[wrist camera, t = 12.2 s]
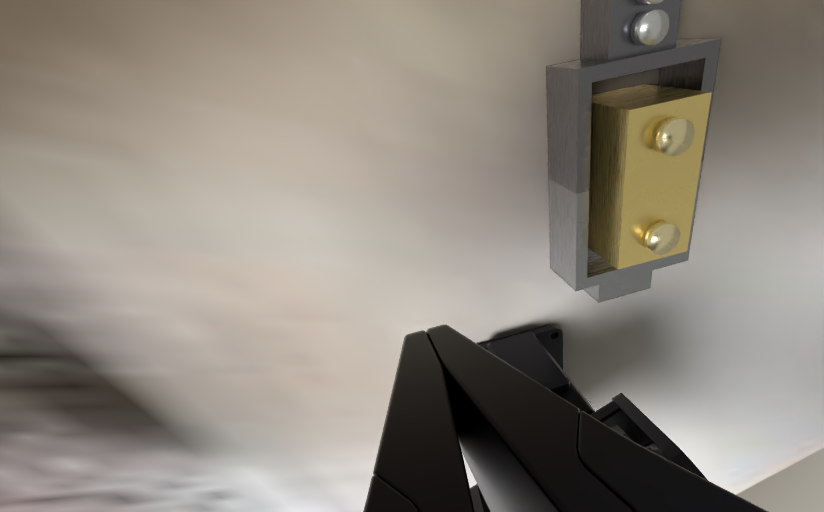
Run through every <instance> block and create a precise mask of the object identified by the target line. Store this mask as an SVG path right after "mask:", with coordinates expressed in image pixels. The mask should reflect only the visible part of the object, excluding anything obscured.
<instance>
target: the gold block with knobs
mask: <svg viewBox="0 0 824 512" xmlns="http://www.w3.org/2000/svg"><path fill="white" fill-rule="evenodd" d="M711 94H712V92H707V91H698V90H690V89H681V88H673V87H664V86H656V85H647V84H641V85H637V86H632V87H627V88H623V89H618V90H613V91H609V92H604V93H599V94H595V95H592V102H591V142H590V182H589V221H588V248H589V249H590V250H592V251H593V252H595V253H596V254H597V255H599V256H600V257H601V258H603V259H604V260H606V261H607V262H608V263H610V264H611V265H612V266H614V267H615V268H617V269H622V268H626V267H630V266H633V265H637V264H641V263H645V262H648V261H652V260H656V259H660V258H663V257H667V256H671V255H675V254H679V253H682V252H686V251H687V249H688V243H689V236H690V230H691V223H692V217H693V210H694V204H695V197H696V191H697V184H698V178H699V171H700V165H701V158H702V152H703V145H704V139H705V132H706V126H707V120H708V113H709V107H710V100H711Z"/></svg>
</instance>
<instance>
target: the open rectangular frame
mask: <svg viewBox="0 0 824 512" xmlns="http://www.w3.org/2000/svg"><path fill="white" fill-rule="evenodd" d="M680 3H681V0H581V42H580V59H579V60H574V61H569V62H564V63H560V64H555V65H550V66H546V76H547V124H548V172H549V220H550V268H551V269H552V270H553V271H554V272H555V273H556V274H557V275H558V276H559V277H561V278H562V279H563V280H564V281H565V282H566V283H567V284H568V285H569V286H570V287H571V288H573V289H574V290H575V291H578V290H582V289H583V290H585V291H586V292H587V293H588V294H589V295H590V296H591V297H593V298H594V299H595V300H596V301H597V302H598V303H599V302H602V301H606V300H610V299H613V298H617V297H620V296H624V295H627V294H631V293H635V292H638V291H642V290H645V289H649V288H650V285H651V275H652V270H655V269H658V268H662V267H666V266H669V265H673V264H676V263H680V262H684V261H687V260H688V257H689V250H690V244H691V237H692V230H693V224H694V217H695V210H696V204H697V197H698V190H699V184H700V177H701V170H702V164H703V157H704V150H705V144H706V137H707V130H708V124H709V117H710V110H711V104H712V97H713V90H714V84H715V77H716V70H717V64H718V57H719V50H720V44H721V39H677V31H678V22H679V13H680ZM656 68H660V74H659V84H658V86H664V87H673V88H681V89H690V90H698V91H707V92H712V94H711V100H710V107H709V113H708V120H707V126H706V132H705V139H704V145H703V152H702V158H701V165H700V171H699V178H698V184H697V191H696V197H695V204H694V210H693V217H692V223H691V230H690V236H689V243H688V249H687V251H686V252H682V253H679V254H675V255H671V256H667V257H663V258H660V259H656V260H652V261H648V262H645V263H641V264H637V265H633V266H630V267H626V268H622V269H617V268H615V267H614V266H612V265H611V264H610V263H608V262H607V261H606V260H604V259H603V258H601V257H600V256H599V255H597V254H596V253H595V252H593V251H592V250H590V249H588V221H589V182H590V142H591V102H592V82H597V81H601V80H606V79H610V78H615V77H620V76H624V75H629V74H633V73H638V72H643V71H647V70H652V69H656Z"/></svg>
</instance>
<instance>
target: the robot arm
mask: <svg viewBox="0 0 824 512" xmlns="http://www.w3.org/2000/svg"><path fill="white" fill-rule="evenodd" d="M552 333H554V334H552ZM551 334H552V335H551ZM461 450H462V451H461ZM462 452H463V455H464V457H465V459H466V461H467V463H468V465H469V467H470V469H471V471H472V474H473V476H474V478H475V480H476V482H477V484H476V485H475V486H473V487H472V488H469V483H468V478H467V474H466V469H465V465H464V460H463V455H462ZM373 474H374V476H373V477H372V479H371V483H370V487H369V492H368V496H367V500H366V504H365V508H364V511H363V512H768V511H766V510H764V509H762V508H760V507H758V506H756V505H754V504H752V503H750V502H748V501H746V500H745V499H743V498H741V497H739V496H737V495H735V494H733V493H731V492H729V491H727V490H725V489H723V488H721V487H719V486H717V485H715V484H713V483H711V482H709V481H708V480H707V479H706V478H705V476H704V475H703V474H702V473H701V472H700V470H699V469H698V468H697V467H696V466H695V465H694V464H693V462H692V461H691V460H690V459H689V458H688V457H687V456H686V455H685V454H684V453H683V451H682V450H681V449H680V448H679V447H678V446H677V445H676V444H675V443H674V442H673V441H671V440H670V439H669V438H668V437H667V436H666V435H665V434H664V433H663V432H662V431H661V430H660V429H659V428H658V427H657V426H656V425H655V424H654V423H653V422H652V421H650V420H649V419H648V418H647V417H646V416H645V415H644V414H643V413H642V412H641V411H640V410H639V409H638V408H637V407H636V406H635V405H634V404H633V403H632V402H631V401H630V400H628V399H627V398H626V397H625V396H624V395H623V394H622V393H620V394H619V395H617V396H616V397H614V398H612V402H610V403H608V404H607V405H605V406H604V407H602V408H600V409H599V410H597V411H596V412H595V411H594V409H593V408H592V407H591V406H590V404H589V403H588V402H587V401H586V399H585V398H584V397H583V395H582V394H581V393H580V392H579V390H578V389H577V388H576V387H575V385H574V384H573V383H572V381H571V380H570V379H569V377H568V376H567V375H566V374H565V372H564V371H563V333H562V330H561V329H560V328H559V327H558V326H557V325H555V324H553V325H548V326H545V327H541V328H537V329H534V330H530V331H527V332H523V333H520V334H516V335H513V336H509V337H506V338H502V339H499V340H495V341H492V342H488V343H484V344H481V345H478V344H476V343H475V342H473V341H471V340H470V339H468V338H467V337H465V336H464V335H462V334H460V333H459V332H457V331H456V330H454V329H453V328H451V327H449V326H448V325H440V326H436V327H433V328H429V329H428V330H427V332H425V331H418V332H415V333H411V334H408V335H406V336H405V338H404V342H403V346H402V351H401V355H400V359H399V364H398V368H397V372H396V377H395V381H394V385H393V389H392V394H391V398H390V402H389V407H388V411H387V415H386V420H385V424H384V428H383V433H382V437H381V441H380V445H379V450H378V454H377V458H376V463H375V467H374V471H373Z"/></svg>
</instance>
